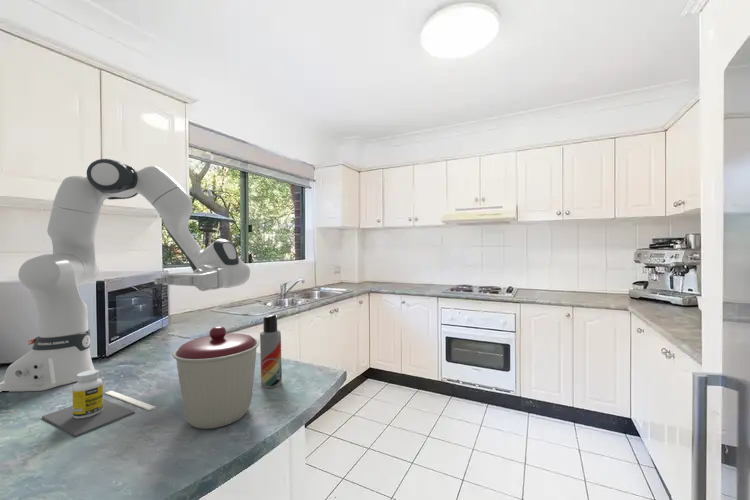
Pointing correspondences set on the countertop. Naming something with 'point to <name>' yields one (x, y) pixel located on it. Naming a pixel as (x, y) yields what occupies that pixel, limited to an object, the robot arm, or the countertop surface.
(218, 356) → the canister
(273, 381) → the lotion bottle
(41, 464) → the countertop surface
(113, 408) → the mat
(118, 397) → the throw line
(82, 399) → the supplement bottle
